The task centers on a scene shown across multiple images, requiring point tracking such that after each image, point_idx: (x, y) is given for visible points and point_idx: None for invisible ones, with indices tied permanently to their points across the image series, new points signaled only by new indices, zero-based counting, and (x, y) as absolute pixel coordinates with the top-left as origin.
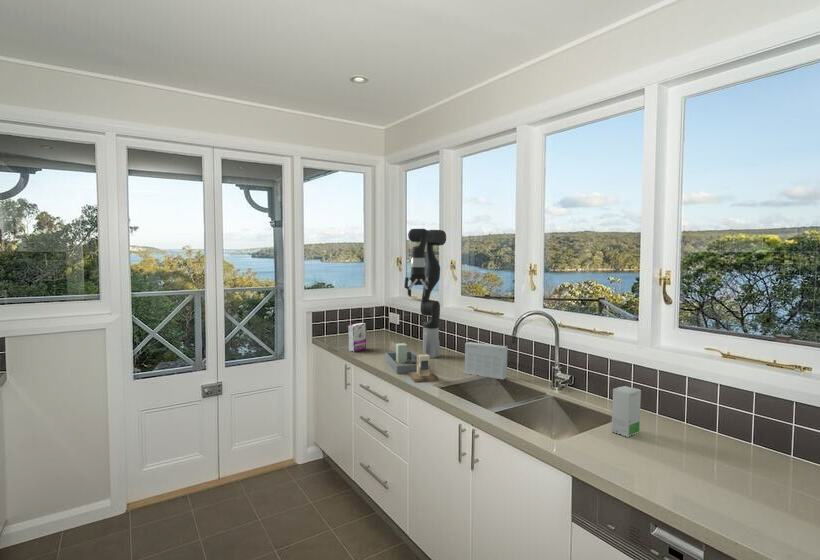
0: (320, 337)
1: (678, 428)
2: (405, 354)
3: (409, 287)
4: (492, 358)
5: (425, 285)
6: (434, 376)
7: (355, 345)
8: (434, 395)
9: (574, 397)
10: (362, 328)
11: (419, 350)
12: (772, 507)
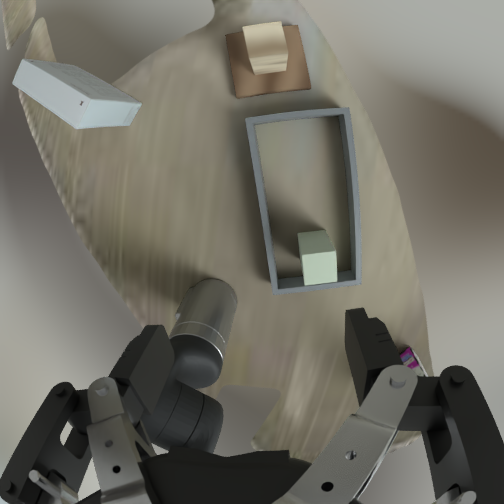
0: (420, 433)
1: None
2: (304, 241)
3: (407, 392)
4: (60, 69)
5: (99, 422)
6: (235, 42)
7: (410, 360)
8: None
9: (28, 7)
10: None
11: (239, 356)
12: None
